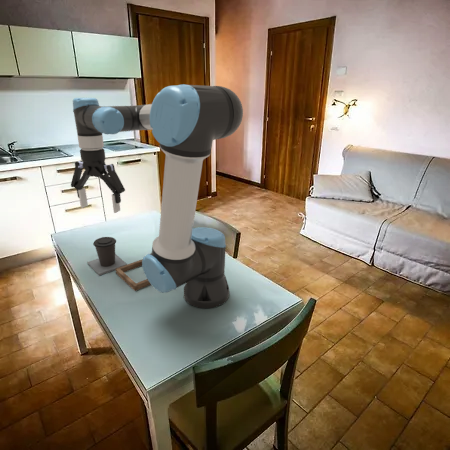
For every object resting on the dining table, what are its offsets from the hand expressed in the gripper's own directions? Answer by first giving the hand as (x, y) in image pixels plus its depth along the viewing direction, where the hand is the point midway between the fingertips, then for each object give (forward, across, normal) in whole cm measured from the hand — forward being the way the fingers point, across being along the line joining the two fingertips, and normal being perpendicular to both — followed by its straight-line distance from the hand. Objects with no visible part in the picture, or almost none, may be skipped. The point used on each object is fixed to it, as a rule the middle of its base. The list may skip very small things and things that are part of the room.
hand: (100, 209), depth 113 cm
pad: (+23, 0, 0) cm, 23 cm away
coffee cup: (+22, 0, 0) cm, 22 cm away
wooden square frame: (+23, -16, +2) cm, 28 cm away
